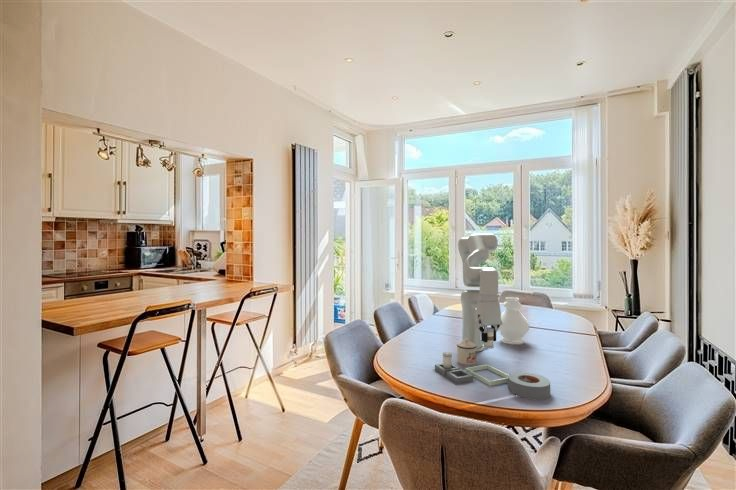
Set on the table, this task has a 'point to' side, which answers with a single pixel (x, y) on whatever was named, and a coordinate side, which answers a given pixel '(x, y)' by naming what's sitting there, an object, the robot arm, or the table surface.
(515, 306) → the decorative vase
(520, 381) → the tape roll
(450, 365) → the cylinder
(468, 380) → the fuse holder
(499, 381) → the parts tray
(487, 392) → the table surface
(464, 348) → the teacup with lid
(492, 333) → the fuse
